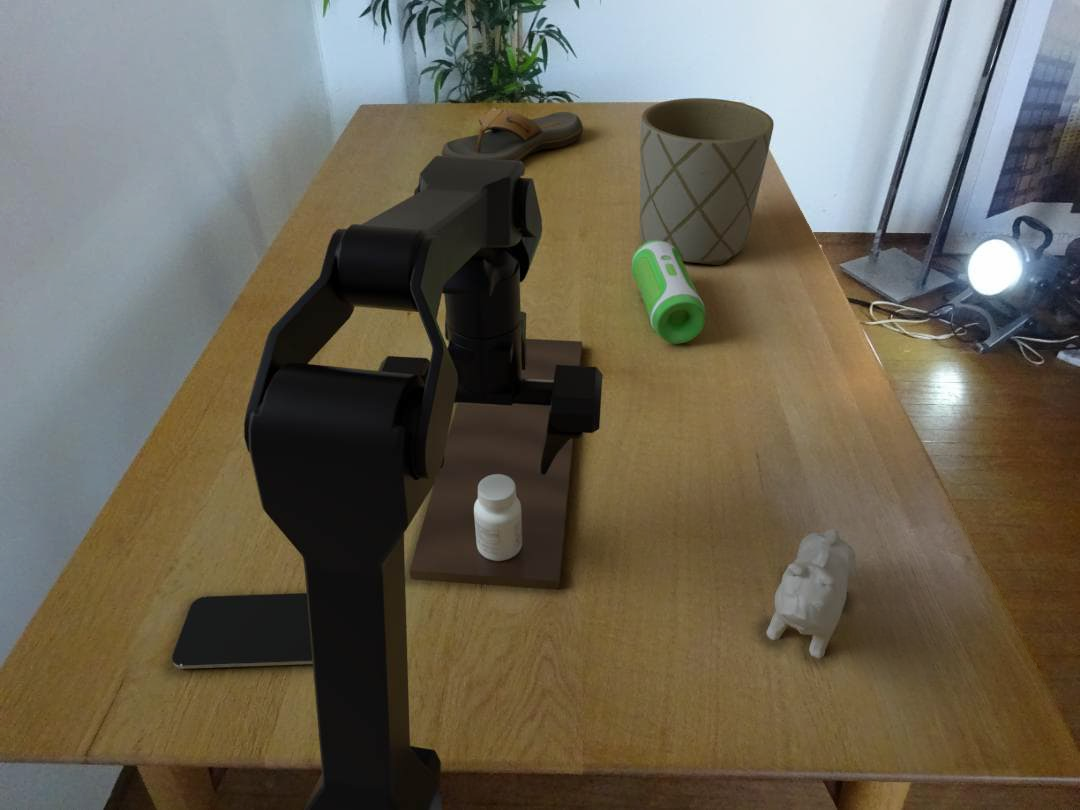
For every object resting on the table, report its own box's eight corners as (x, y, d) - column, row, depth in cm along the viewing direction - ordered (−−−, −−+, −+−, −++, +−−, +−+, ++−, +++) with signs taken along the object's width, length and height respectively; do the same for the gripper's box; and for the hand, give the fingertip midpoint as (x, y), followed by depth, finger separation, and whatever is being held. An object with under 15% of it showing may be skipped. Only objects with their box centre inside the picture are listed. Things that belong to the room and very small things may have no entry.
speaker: (627, 283, 120) (630, 236, 115) (675, 280, 120) (680, 234, 116) (650, 349, 106) (655, 299, 101) (705, 346, 106) (712, 296, 102)
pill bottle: (511, 522, 80) (508, 464, 75) (529, 553, 77) (528, 494, 72) (469, 537, 78) (464, 478, 74) (487, 568, 75) (483, 509, 70)
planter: (739, 280, 120) (761, 149, 108) (617, 258, 126) (625, 131, 113) (761, 227, 134) (783, 105, 122) (650, 210, 140) (660, 92, 127)
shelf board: (558, 589, 75) (558, 581, 74) (410, 579, 76) (408, 570, 75) (581, 348, 106) (582, 341, 105) (476, 343, 107) (476, 336, 106)
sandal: (422, 164, 157) (418, 115, 151) (557, 124, 174) (557, 80, 168) (464, 186, 148) (461, 135, 143) (601, 142, 165) (603, 96, 160)
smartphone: (348, 659, 68) (168, 665, 68) (349, 664, 68) (170, 670, 68) (359, 590, 74) (193, 595, 73) (360, 595, 74) (195, 600, 74)
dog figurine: (749, 668, 68) (770, 587, 61) (793, 566, 77) (815, 485, 70) (811, 697, 66) (840, 616, 59) (849, 588, 75) (878, 507, 68)
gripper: (608, 272, 68) (600, 417, 77) (390, 263, 69) (409, 406, 79) (603, 347, 59) (595, 499, 69) (354, 334, 60) (380, 485, 70)
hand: (492, 467), depth 72 cm, fingers open, 9 cm apart
